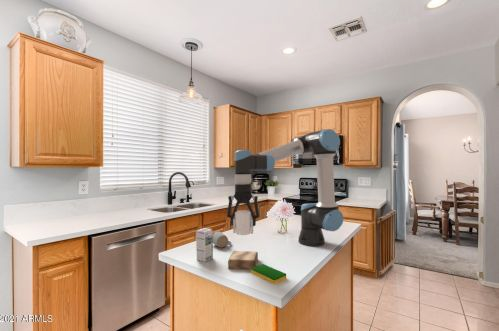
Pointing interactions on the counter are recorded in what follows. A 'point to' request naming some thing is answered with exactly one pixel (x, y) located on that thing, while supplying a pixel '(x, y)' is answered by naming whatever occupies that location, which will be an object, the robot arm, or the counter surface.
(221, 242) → the ceramic mug
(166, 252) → the counter surface
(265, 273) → the dish sponge
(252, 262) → the walnut plinth
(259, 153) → the robot arm
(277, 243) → the counter surface
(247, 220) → the white cup
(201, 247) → the syrup box
